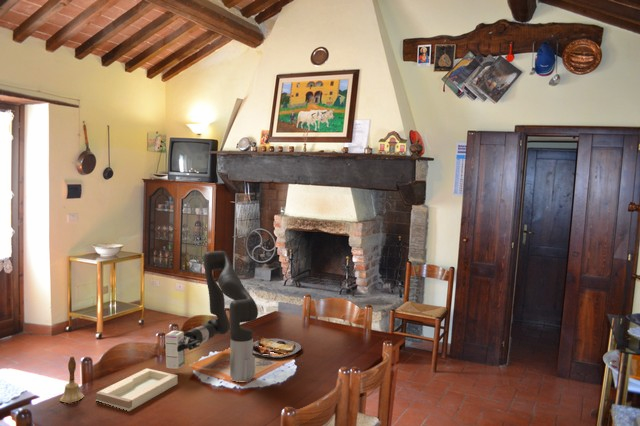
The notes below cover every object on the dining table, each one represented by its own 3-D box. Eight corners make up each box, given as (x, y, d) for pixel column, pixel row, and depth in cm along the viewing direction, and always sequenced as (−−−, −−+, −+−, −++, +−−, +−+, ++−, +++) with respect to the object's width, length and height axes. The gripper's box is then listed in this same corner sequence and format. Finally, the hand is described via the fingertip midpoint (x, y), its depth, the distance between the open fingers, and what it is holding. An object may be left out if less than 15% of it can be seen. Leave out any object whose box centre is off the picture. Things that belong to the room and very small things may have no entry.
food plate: (239, 354, 237) (239, 346, 237) (262, 339, 258) (263, 333, 258) (286, 364, 228) (287, 356, 227) (307, 348, 249) (307, 341, 249)
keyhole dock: (146, 376, 209) (146, 368, 209) (177, 383, 203) (177, 375, 203) (96, 401, 186) (95, 392, 186) (128, 411, 179) (128, 401, 179)
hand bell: (79, 391, 194) (78, 351, 193) (87, 399, 188) (86, 357, 187) (56, 398, 188) (55, 356, 187) (63, 406, 182) (63, 363, 181)
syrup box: (178, 369, 210) (178, 335, 208) (165, 368, 211) (165, 334, 210) (184, 364, 215) (184, 331, 214) (172, 363, 216) (171, 330, 215)
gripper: (183, 326, 228) (157, 336, 213) (209, 330, 222) (185, 341, 207) (183, 342, 229) (157, 354, 213) (209, 347, 223) (185, 359, 208)
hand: (171, 348), depth 210 cm, fingers closed on syrup box, 6 cm apart
